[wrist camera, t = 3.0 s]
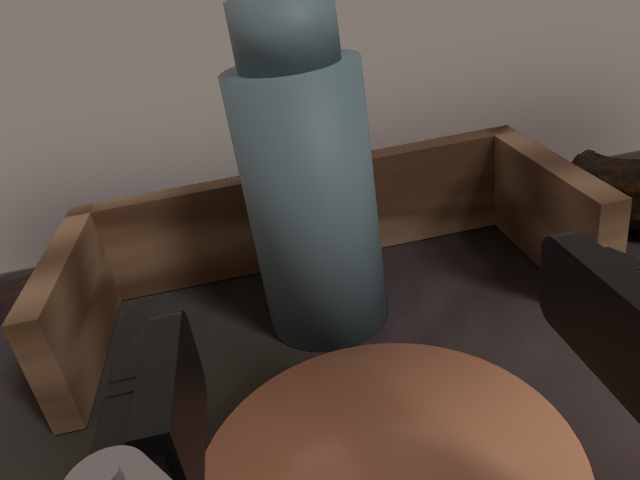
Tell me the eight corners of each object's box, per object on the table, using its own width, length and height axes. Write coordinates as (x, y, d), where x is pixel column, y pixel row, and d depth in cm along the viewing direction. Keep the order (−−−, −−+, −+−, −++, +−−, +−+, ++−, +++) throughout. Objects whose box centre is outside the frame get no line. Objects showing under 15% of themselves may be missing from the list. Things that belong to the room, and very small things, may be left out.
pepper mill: (400, 287, 27) (367, -78, 20) (368, 359, 23) (313, -72, 16) (298, 279, 29) (237, -56, 22) (252, 343, 25) (158, -46, 18)
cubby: (102, 293, 30) (70, 207, 28) (505, 211, 32) (506, 125, 30) (54, 435, 21) (0, 326, 19) (618, 311, 23) (632, 198, 21)
